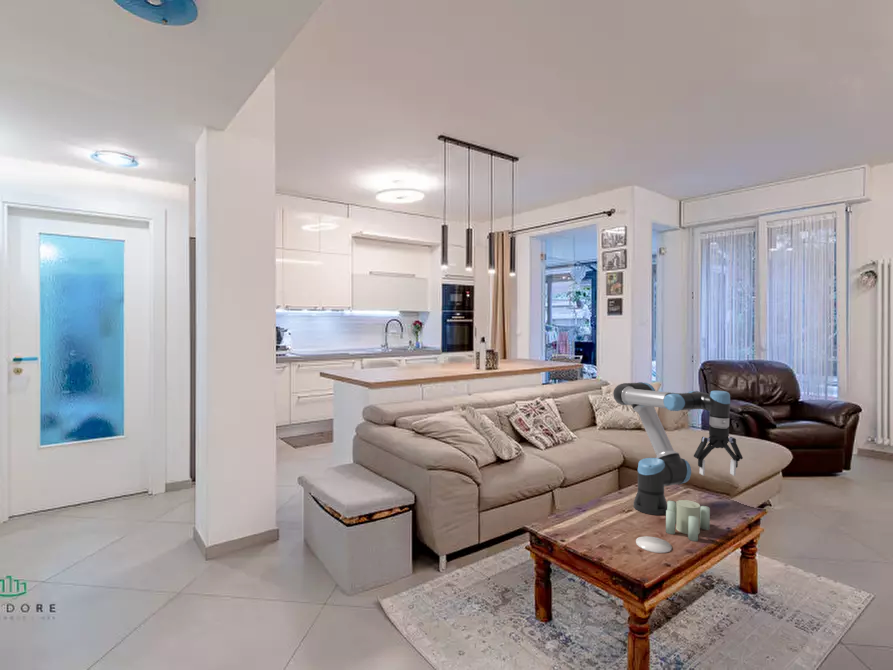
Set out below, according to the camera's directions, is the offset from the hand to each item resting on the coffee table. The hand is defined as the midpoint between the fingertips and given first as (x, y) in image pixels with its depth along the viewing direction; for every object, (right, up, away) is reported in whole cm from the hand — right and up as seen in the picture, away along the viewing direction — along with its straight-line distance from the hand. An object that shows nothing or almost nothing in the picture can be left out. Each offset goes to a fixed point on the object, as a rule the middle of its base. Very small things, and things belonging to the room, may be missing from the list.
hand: (717, 474), depth 204 cm
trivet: (-36, -23, -18) cm, 46 cm away
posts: (-15, -23, -4) cm, 28 cm away
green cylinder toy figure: (-15, -23, -4) cm, 28 cm away
